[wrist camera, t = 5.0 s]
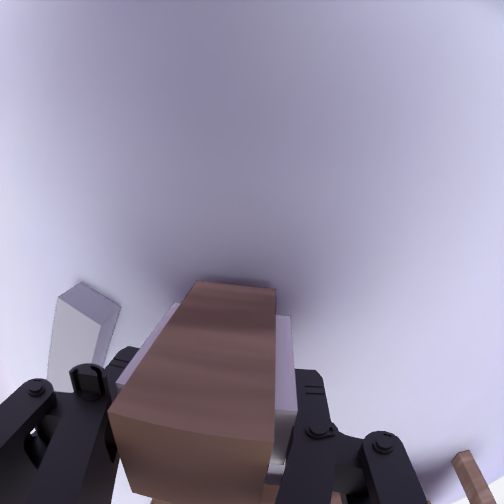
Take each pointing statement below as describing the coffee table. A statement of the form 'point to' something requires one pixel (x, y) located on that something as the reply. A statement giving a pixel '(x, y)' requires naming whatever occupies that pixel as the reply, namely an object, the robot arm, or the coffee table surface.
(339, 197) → the coffee table surface
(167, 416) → the crook
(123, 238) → the coffee table surface
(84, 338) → the grey stick
